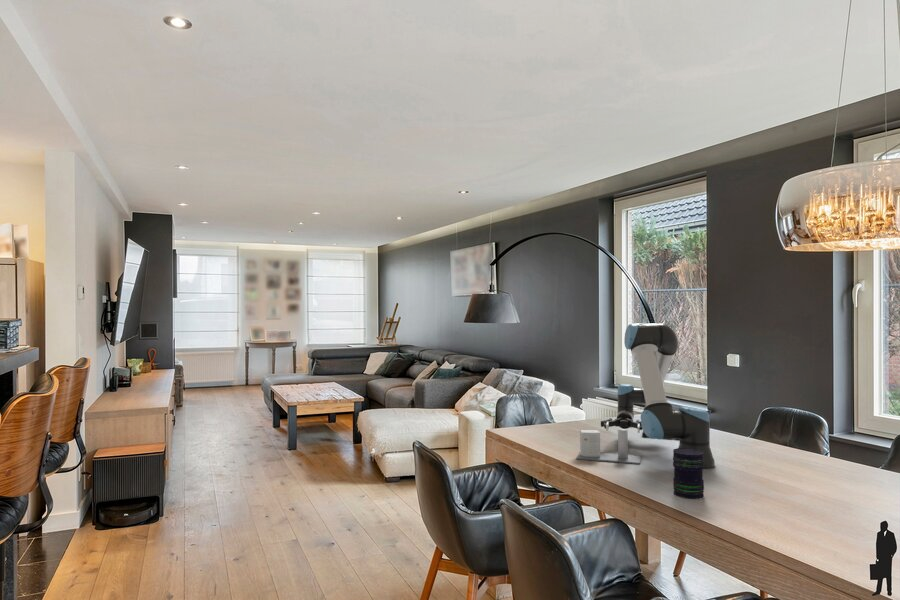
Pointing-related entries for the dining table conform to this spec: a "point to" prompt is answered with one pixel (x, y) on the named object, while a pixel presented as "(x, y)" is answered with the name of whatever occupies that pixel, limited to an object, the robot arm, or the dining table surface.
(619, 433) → the base plate with uprights
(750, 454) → the dining table surface
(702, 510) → the dining table surface
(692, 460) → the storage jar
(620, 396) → the robot arm
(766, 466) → the dining table surface
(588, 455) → the small box
